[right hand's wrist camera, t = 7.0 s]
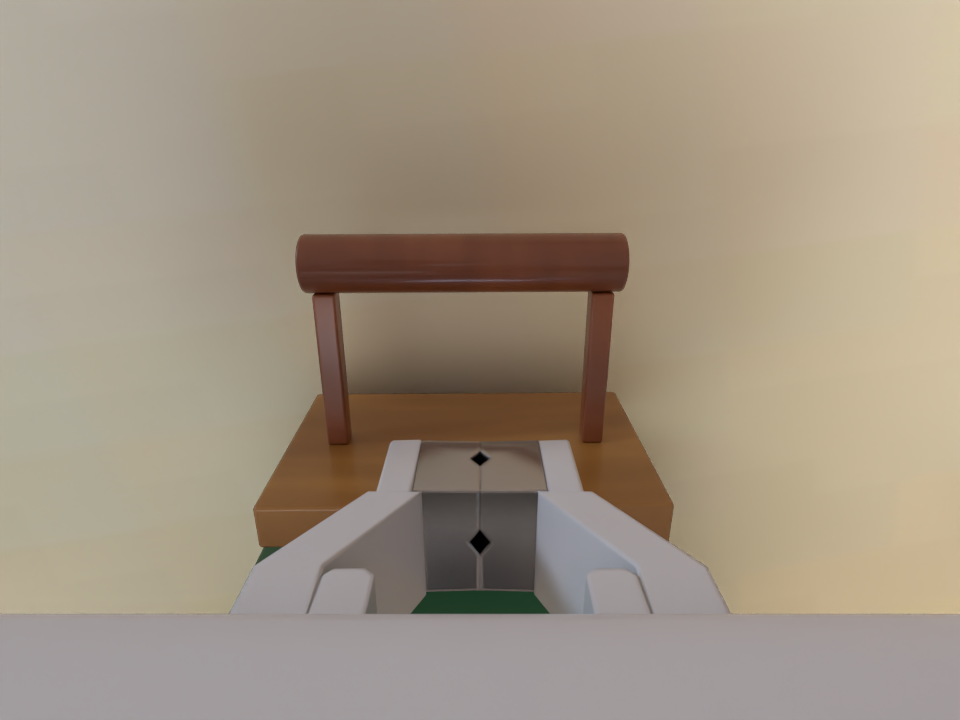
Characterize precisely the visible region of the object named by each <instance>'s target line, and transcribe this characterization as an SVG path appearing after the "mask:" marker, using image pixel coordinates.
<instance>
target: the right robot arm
mask: <svg viewBox="0 0 960 720" xmlns="http://www.w3.org/2000/svg"><path fill="white" fill-rule="evenodd" d="M473 590H485V591H522V592H534V595H535V596H536V597H537V599H538V600H539V601H540V602H541V603H542V605H543V606H544V607H545V608H546V609H547V611H548V612H549V613H550V614H411V612H412V611H413V610H414V609H415V608H416V606H417V605H418V604H419V603H420V602H421V600H422V599H423V598H424V597H425V596H426V592H437V591H473ZM0 720H960V614H731V613H730V611H729V609H728V607H727V605H726V603H725V601H724V599H723V597H722V595H721V593H720V591H719V589H718V587H717V586H716V584H715V582H714V580H713V578H712V576H711V574H710V572H709V570H708V568H707V567H706V566H705V565H703V564H702V563H700V562H699V561H697V560H696V559H694V558H693V557H691V556H690V555H688V554H687V553H685V552H683V551H682V550H680V549H679V548H677V547H676V546H674V545H673V544H671V543H670V542H668V541H667V540H665V539H664V538H662V537H661V536H659V535H658V534H656V533H655V532H653V531H651V530H650V529H648V528H647V527H645V526H644V525H642V524H641V523H639V522H638V521H636V520H635V519H633V518H632V517H630V516H629V515H627V514H626V513H624V512H623V511H621V510H620V509H618V508H616V507H615V506H613V505H612V504H610V503H609V502H607V501H606V500H604V499H603V498H601V497H600V496H598V495H597V494H595V493H594V492H592V491H583V487H582V484H581V480H580V477H579V474H578V470H577V467H576V463H575V460H574V456H573V453H572V449H571V446H570V443H569V441H568V440H545V441H538V440H526V441H484V442H480V441H433V440H423V441H421V440H393V441H392V442H391V443H390V445H389V449H388V452H387V456H386V459H385V463H384V466H383V470H382V473H381V477H380V480H379V484H378V487H377V491H368V492H366V493H365V494H363V495H362V496H360V497H359V498H357V499H356V500H354V501H353V502H351V503H350V504H348V505H347V506H345V507H343V508H342V509H340V510H339V511H337V512H336V513H334V514H333V515H331V516H330V517H328V518H327V519H325V520H324V521H322V522H320V523H319V524H317V525H316V526H314V527H313V528H311V529H310V530H308V531H307V532H305V533H304V534H302V535H301V536H299V537H298V538H296V539H294V540H293V541H291V542H290V543H288V544H287V545H285V546H284V547H282V548H281V549H279V550H278V551H276V552H275V553H273V554H272V555H270V556H268V557H267V558H265V559H264V560H262V561H261V562H259V563H258V564H256V565H255V566H254V567H253V569H252V571H251V572H250V574H249V576H248V578H247V580H246V582H245V584H244V586H243V588H242V590H241V592H240V594H239V596H238V597H237V599H236V601H235V603H234V605H233V607H232V609H231V611H230V613H229V614H0Z"/></svg>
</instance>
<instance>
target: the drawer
mask: <svg viewBox="0 0 960 720" xmlns="http://www.w3.org/2000/svg"><path fill="white" fill-rule="evenodd" d="M628 272H629V247H628V242H627V238H626V236H625V235H624V234H622V233H529V234H304V235H302V236H300V237H299V239H298V242H297V247H296V273H297V278H298V282H299V285H300V287H301V289H302V291H303V292H305V293H314V294H313V296H312V300H313V309H314V318H315V327H316V337H317V346H318V355H319V364H320V373H321V382H322V391H323V394H320V395H317V397H316V399H315V401H314V402H313V404H312V406H311V408H310V409H309V411H308V413H307V415H306V416H305V418H304V420H303V422H302V423H301V425H300V427H299V429H298V431H297V432H296V434H295V436H294V438H293V439H292V441H291V443H290V445H289V446H288V448H287V450H286V452H285V453H284V455H283V457H282V459H281V461H280V462H279V464H278V466H277V468H276V469H275V471H274V473H273V475H272V476H271V478H270V480H269V482H268V483H267V485H266V487H265V489H264V490H263V492H262V494H261V496H260V498H259V499H258V501H257V503H256V505H255V506H254V509H253V510H254V516H255V522H256V528H257V534H258V540H259V545H260V546H261V547H284V546H285V545H287V544H288V543H290V542H291V541H293V540H294V539H296V538H298V537H299V536H301V535H302V534H304V533H305V532H307V531H308V530H310V529H311V528H313V527H314V526H316V525H317V524H319V523H320V522H322V521H324V520H325V519H327V518H328V517H330V516H331V515H333V514H334V513H336V512H337V511H339V510H340V509H342V508H343V507H345V506H347V505H348V504H350V503H351V502H353V501H354V500H356V499H357V498H359V497H360V496H362V495H363V494H365V493H366V492H368V491H377V487H378V484H379V480H380V477H381V473H382V470H383V466H384V463H385V459H386V456H387V452H388V449H389V445H390V443H391V442H392V441H393V440H421V441H423V440H433V441H480V442H484V441H526V440H538V441H545V440H568V441H569V443H570V446H571V449H572V453H573V456H574V460H575V463H576V467H577V470H578V474H579V477H580V480H581V484H582V487H583V491H592V492H594V493H595V494H597V495H598V496H600V497H601V498H603V499H604V500H606V501H607V502H609V503H610V504H612V505H613V506H615V507H616V508H618V509H620V510H621V511H623V512H624V513H626V514H627V515H629V516H630V517H632V518H633V519H635V520H636V521H638V522H639V523H641V524H642V525H644V526H645V527H647V528H648V529H650V530H651V531H653V532H655V533H656V534H658V535H659V536H661V537H662V538H664V539H665V540H667V541H669V535H670V528H671V521H672V514H673V507H674V505H673V502H672V501H671V499H670V497H669V495H668V493H667V491H666V489H665V487H664V485H663V483H662V482H661V480H660V478H659V476H658V474H657V472H656V470H655V468H654V466H653V465H652V463H651V461H650V459H649V457H648V455H647V453H646V451H645V449H644V447H643V446H642V444H641V442H640V440H639V438H638V436H637V434H636V432H635V430H634V429H633V427H632V425H631V423H630V421H629V419H628V417H627V415H626V413H625V412H624V410H623V408H622V406H621V404H620V402H619V400H618V398H617V396H616V394H615V393H613V392H606V389H607V377H608V365H609V353H610V341H611V329H612V317H613V305H614V293H613V292H612V291H622V290H623V289H624V287H625V285H626V282H627V278H628ZM425 292H588V304H587V319H586V334H585V349H584V364H583V379H582V393H451V394H348V387H347V376H346V365H345V354H344V343H343V332H342V322H341V311H340V300H339V293H425Z"/></svg>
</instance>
